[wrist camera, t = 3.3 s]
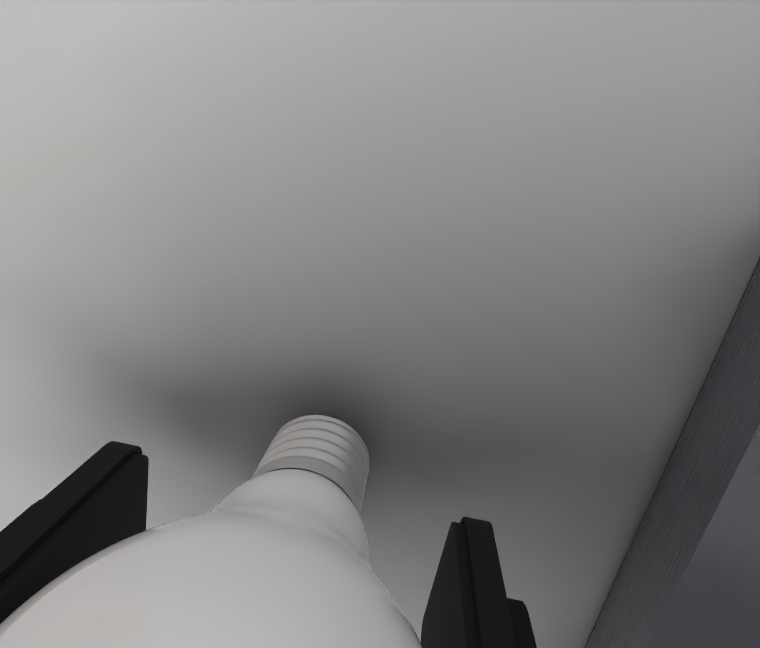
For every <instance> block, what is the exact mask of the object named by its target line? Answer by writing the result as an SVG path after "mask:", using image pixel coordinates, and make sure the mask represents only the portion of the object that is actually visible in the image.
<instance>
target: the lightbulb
mask: <svg viewBox="0 0 760 648" xmlns="http://www.w3.org/2000/svg"><path fill="white" fill-rule="evenodd" d="M369 465H370V461H369V454H368V450H367V447H366V445H365V443H364V441H363V440H362V438H361V437H360V435H359V434H358V433H357V432H356V431H355V430H354V429H353V428H352V427H350V426H349V425H348V424H346V423H344V422H343V421H341V420H339V419H336V418H333V417H330V416H325V415H305V416H301V417H298V418H295V419H293V420H291V421H289V422H288V423H286V424H285V425H284V426H283V427H281V429H280V430H279V431H278V432H277V434H276V435H275V437H274V439H273V440H272V442H271V443H270V445H269V447H268V449H267V451H266V452H265V454H264V456H263V458H262V460H261V461H260V463H259V465H258V467H257V469H256V470H255V472H254V474H253V476H252V477H251V479H249V480H247V481H246V482H244V483H242V484H241V485H239V486H238V487H236V488H235V489H234V490H232V491H231V492H230V493H229V494H228V495H227V496H226V497H224V498H223V499H222V500H221V501H220V502H219V503H218V504H217V505H216V506H215V507H214V508H213V509H212V510H211V511H210V512H209V513H205V514H201V515H196V516H192V517H188V518H184V519H180V520H176V521H173V522H170V523H166V524H163V525H160V526H157V527H154V528H151V529H148V530H146V531H143V532H140V533H138V534H135V535H133V536H130V537H128V538H126V539H124V540H121V541H119V542H117V543H115V544H113V545H111V546H109V547H107V548H105V549H103V550H101V551H99V552H97V553H95V554H93V555H92V556H90V557H88V558H86V559H85V560H83V561H81V562H80V563H78V564H76V565H75V566H73V567H72V568H70V569H69V570H67V571H66V572H64V573H63V574H61V575H60V576H58V577H57V578H55V579H54V580H53V581H51V582H50V583H48V584H47V585H46V586H44V587H43V588H42V589H40V590H39V591H38V592H36V593H35V594H34V595H33V596H31V597H30V598H29V599H28V600H27V601H25V602H24V603H23V604H22V605H21V606H19V607H18V608H17V609H16V610H15V611H14V612H13V613H11V614H10V615H9V616H8V617H7V618H6V619H5V620H4V621H2V622H1V623H0V648H423V647H422V645H421V643H420V641H419V639H418V637H417V635H416V633H415V631H414V629H413V628H412V626H411V624H410V622H409V621H408V619H407V617H406V616H405V614H404V613H403V611H402V610H401V608H400V606H399V605H398V603H397V602H396V600H395V599H394V598H393V596H392V595H391V593H390V592H389V591H388V589H387V588H386V587H385V585H384V584H383V583H382V581H381V580H380V579H379V578H378V576H377V575H376V574H375V573H374V571H373V570H372V569H371V565H370V554H369V546H368V539H367V535H366V531H365V527H364V525H363V522H362V519H361V510H362V506H363V498H364V494H365V487H366V483H367V477H368V473H369Z"/></svg>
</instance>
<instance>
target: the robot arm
mask: <svg viewBox="0 0 760 648" xmlns="http://www.w3.org/2000/svg"><path fill="white" fill-rule="evenodd" d="M147 487H148V457H147V456H146V455H142V450H141V448H140V447H138V446H134V445H129V444H125V443H120V442H115V441H111V442H109V443H107V444H106V445H105V446H103V447H102V448H101V449H100V450H99V451H98V452H96V453H95V454H94V455H93V456H92V457H91V458H89V459H88V460H87V461H86V462H85V463H84V464H82V465H81V466H80V467H79V468H78V469H77V470H75V471H74V472H73V473H72V474H71V475H70V476H68V477H67V478H66V479H65V480H64V481H63V482H61V483H60V484H59V485H58V486H57V487H56V488H54V489H53V490H52V491H51V492H50V493H49V494H47V495H46V496H45V497H44V498H43V499H41V500H39V501H37V502H36V503H34V504H33V505H31V506H30V507H29V508H28V509H27V510H26V511H24V512H23V513H22V514H21V515H20V516H18V517H17V518H16V519H15V520H14V521H13V522H11V523H10V524H9V525H8V526H7V527H6V528H4V529H3V530H2V531H1V532H0V623H1V622H2V621H4V620H5V619H6V618H7V617H8V616H9V615H10V614H11V613H13V612H14V611H15V610H16V609H17V608H18V607H19V606H21V605H22V604H23V603H24V602H25V601H27V600H28V599H29V598H30V597H31V596H33V595H34V594H35V593H36V592H38V591H39V590H40V589H42V588H43V587H44V586H46V585H47V584H48V583H50V582H51V581H53V580H54V579H55V578H57V577H58V576H60V575H61V574H63V573H64V572H66V571H67V570H69V569H70V568H72V567H73V566H75V565H76V564H78V563H80V562H81V561H83V560H85V559H86V558H88V557H90V556H92V555H93V554H95V553H97V552H99V551H101V550H103V549H105V548H107V547H109V546H111V545H113V544H115V543H117V542H119V541H121V540H124V539H126V538H128V537H130V536H133V535H135V534H138V533H140V532H143V531H146V512H147ZM421 645H422V647H423V648H537V647H536V643H535V639H534V634H533V630H532V626H531V622H530V618H529V614H528V611H527V608H526V606H525V604H524V603H523V601H519V600H514V599H510V598H507V597H506V592H505V587H504V582H503V577H502V572H501V567H500V562H499V557H498V552H497V547H496V542H495V538H494V533H493V528H492V524H491V523H490V522H487V521H483V520H478V519H473V518H469V517H463V518H462V519H461V522H460V523H457V522H452V523H451V526H450V529H449V532H448V535H447V539H446V542H445V546H444V549H443V552H442V556H441V559H440V563H439V566H438V570H437V573H436V576H435V580H434V583H433V587H432V590H431V593H430V597H429V600H428V604H427V607H426V611H425V614H424V618H423V623H422V631H421Z"/></svg>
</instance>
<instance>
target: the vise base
mask: <svg viewBox="0 0 760 648" xmlns="http://www.w3.org/2000/svg"><path fill="white" fill-rule="evenodd" d="M585 648H760V261H759V263H758V265H757V268H756V270H755V272H754V274H753V277H752V279H751V281H750V283H749V285H748V288H747V290H746V292H745V294H744V297H743V299H742V301H741V303H740V305H739V308H738V310H737V312H736V314H735V317H734V319H733V321H732V323H731V325H730V328H729V330H728V332H727V334H726V336H725V339H724V341H723V343H722V345H721V348H720V350H719V352H718V354H717V356H716V359H715V361H714V363H713V365H712V368H711V370H710V372H709V374H708V376H707V379H706V381H705V383H704V385H703V388H702V390H701V392H700V394H699V396H698V399H697V401H696V403H695V405H694V408H693V410H692V412H691V414H690V416H689V419H688V421H687V423H686V425H685V428H684V430H683V432H682V434H681V436H680V439H679V441H678V443H677V445H676V447H675V450H674V452H673V454H672V456H671V459H670V461H669V463H668V465H667V467H666V470H665V472H664V474H663V476H662V479H661V481H660V483H659V485H658V487H657V490H656V492H655V494H654V496H653V499H652V501H651V503H650V505H649V507H648V510H647V512H646V514H645V516H644V519H643V521H642V523H641V525H640V527H639V530H638V532H637V534H636V536H635V539H634V541H633V543H632V545H631V547H630V550H629V552H628V554H627V556H626V558H625V561H624V563H623V565H622V567H621V570H620V572H619V574H618V576H617V578H616V581H615V583H614V585H613V587H612V590H611V592H610V594H609V596H608V598H607V601H606V603H605V605H604V607H603V610H602V612H601V614H600V616H599V618H598V621H597V623H596V625H595V627H594V630H593V632H592V634H591V636H590V638H589V641H588V643H587V645H586V647H585Z"/></svg>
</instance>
